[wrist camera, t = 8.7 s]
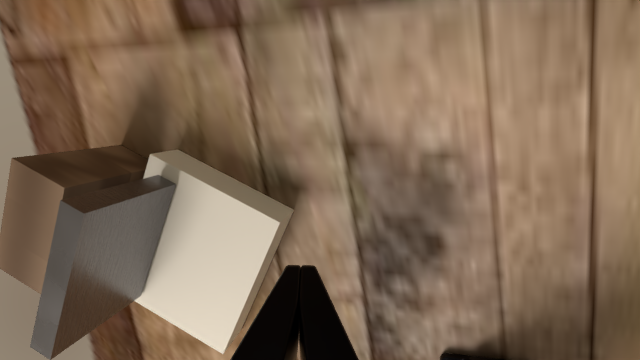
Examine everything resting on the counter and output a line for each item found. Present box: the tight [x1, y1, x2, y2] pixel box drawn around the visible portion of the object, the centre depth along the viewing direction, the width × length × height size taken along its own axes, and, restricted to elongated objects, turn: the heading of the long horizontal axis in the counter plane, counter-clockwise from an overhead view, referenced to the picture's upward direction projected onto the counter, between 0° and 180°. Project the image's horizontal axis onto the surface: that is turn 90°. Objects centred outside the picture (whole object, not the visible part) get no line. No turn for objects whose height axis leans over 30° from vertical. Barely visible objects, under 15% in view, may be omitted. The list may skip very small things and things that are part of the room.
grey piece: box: [30, 175, 176, 360], centre depth 22 cm, size 8×10×7 cm
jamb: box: [0, 145, 148, 294], centre depth 24 cm, size 4×8×8 cm, turn 156°
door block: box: [134, 149, 294, 354], centre depth 26 cm, size 10×12×3 cm
